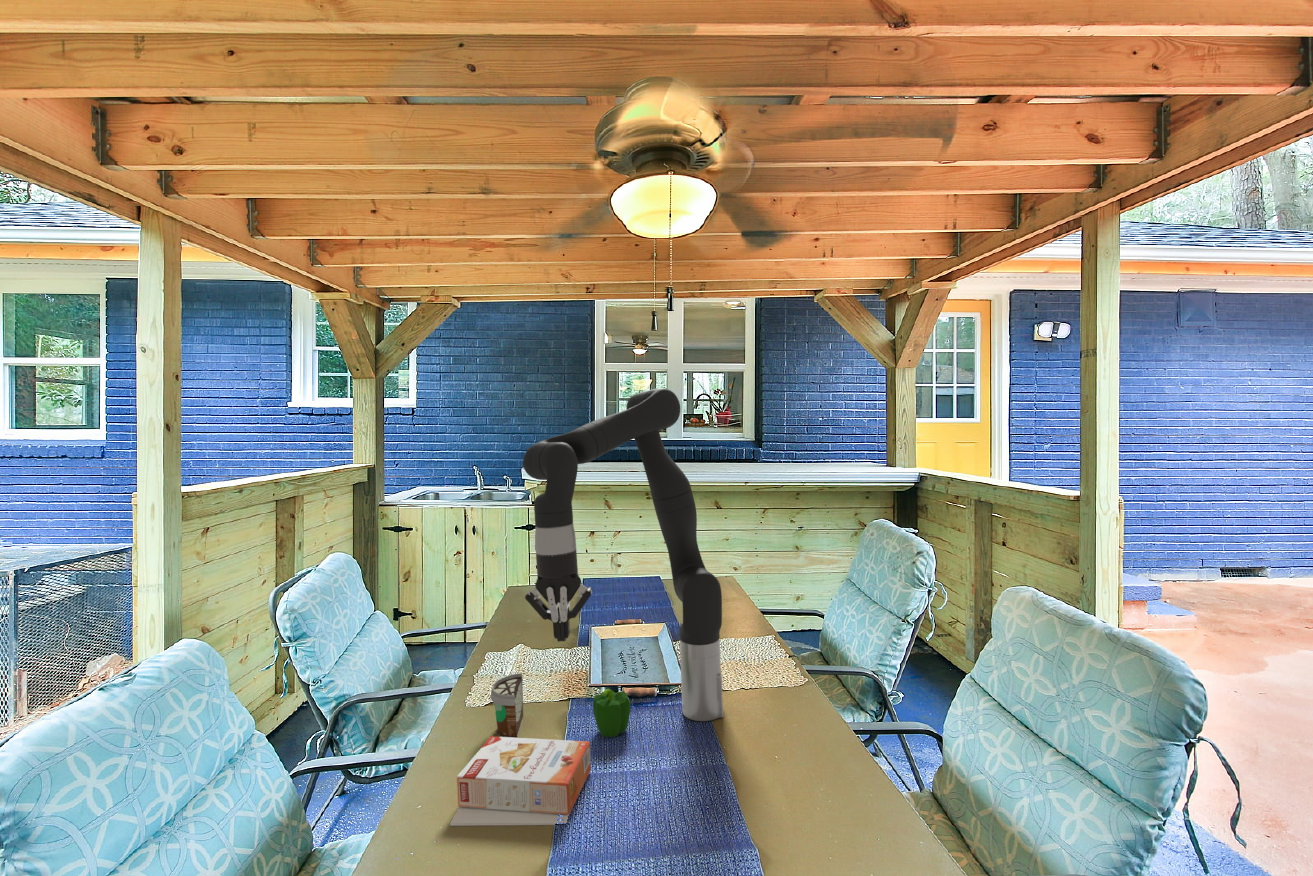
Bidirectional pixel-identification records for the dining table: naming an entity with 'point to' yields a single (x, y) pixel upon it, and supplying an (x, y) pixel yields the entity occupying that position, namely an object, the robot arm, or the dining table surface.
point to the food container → (508, 705)
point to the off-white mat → (503, 817)
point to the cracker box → (525, 775)
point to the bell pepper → (611, 712)
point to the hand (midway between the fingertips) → (562, 639)
